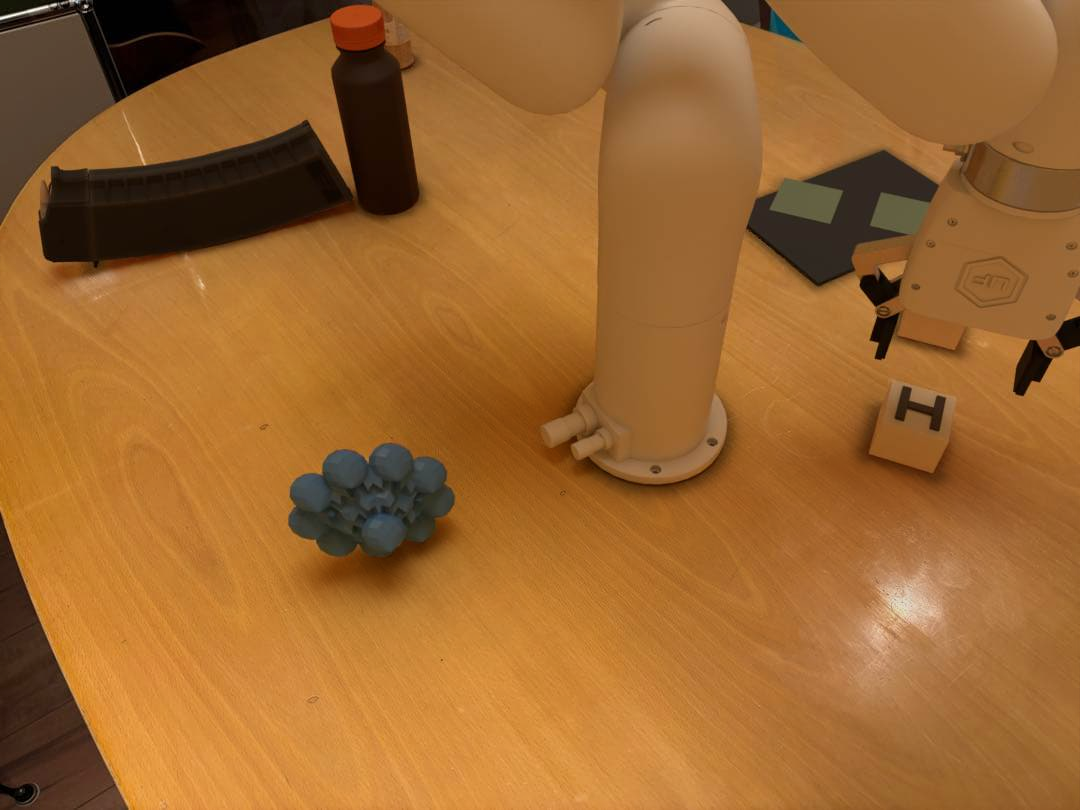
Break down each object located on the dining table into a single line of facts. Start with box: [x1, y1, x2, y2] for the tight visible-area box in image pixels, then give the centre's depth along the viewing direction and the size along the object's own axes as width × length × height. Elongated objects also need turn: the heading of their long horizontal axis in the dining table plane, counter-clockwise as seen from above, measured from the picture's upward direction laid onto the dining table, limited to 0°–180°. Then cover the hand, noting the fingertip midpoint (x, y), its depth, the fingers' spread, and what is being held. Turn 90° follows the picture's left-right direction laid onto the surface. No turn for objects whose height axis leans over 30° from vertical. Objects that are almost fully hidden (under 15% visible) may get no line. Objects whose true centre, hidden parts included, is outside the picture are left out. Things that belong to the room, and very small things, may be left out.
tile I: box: [896, 309, 967, 351], centre depth 79 cm, size 5×5×4 cm
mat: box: [746, 149, 940, 287], centre depth 92 cm, size 22×16×1 cm
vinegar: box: [329, 4, 420, 215], centre depth 88 cm, size 7×7×20 cm
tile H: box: [868, 379, 958, 474], centre depth 70 cm, size 5×5×4 cm
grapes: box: [287, 442, 456, 558], centre depth 60 cm, size 12×7×12 cm, turn 112°
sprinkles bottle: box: [371, 0, 415, 70], centre depth 111 cm, size 5×5×13 cm
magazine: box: [37, 119, 355, 269], centre depth 88 cm, size 17×3×30 cm
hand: (949, 364), depth 64 cm, fingers open, 9 cm apart
